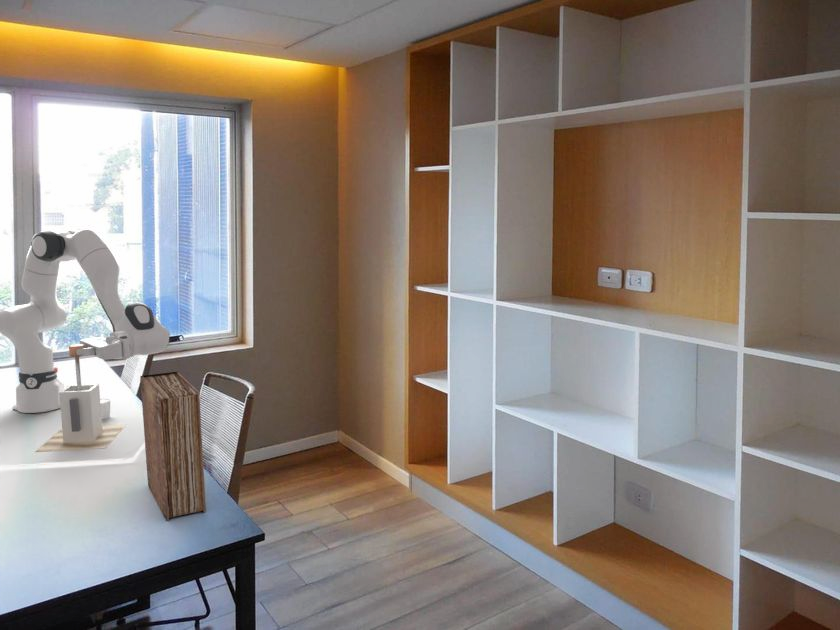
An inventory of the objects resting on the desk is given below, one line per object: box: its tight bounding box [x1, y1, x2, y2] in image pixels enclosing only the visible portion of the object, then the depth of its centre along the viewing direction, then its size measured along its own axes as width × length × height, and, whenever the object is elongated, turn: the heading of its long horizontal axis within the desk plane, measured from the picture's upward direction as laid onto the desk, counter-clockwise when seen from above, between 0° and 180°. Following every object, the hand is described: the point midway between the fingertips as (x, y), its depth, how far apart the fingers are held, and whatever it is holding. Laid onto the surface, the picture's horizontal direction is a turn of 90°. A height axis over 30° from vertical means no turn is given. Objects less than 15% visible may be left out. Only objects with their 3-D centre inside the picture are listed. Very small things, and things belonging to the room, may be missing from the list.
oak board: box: [35, 423, 127, 453], centre depth 222 cm, size 24×20×1 cm
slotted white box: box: [59, 383, 103, 443], centre depth 220 cm, size 11×9×16 cm
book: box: [139, 371, 207, 522], centre depth 175 cm, size 25×9×30 cm, turn 30°
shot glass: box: [100, 398, 111, 420], centre depth 243 cm, size 7×7×7 cm
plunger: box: [68, 344, 84, 391], centre depth 219 cm, size 6×6×24 cm
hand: (73, 351), depth 217 cm, fingers closed on plunger, 4 cm apart
